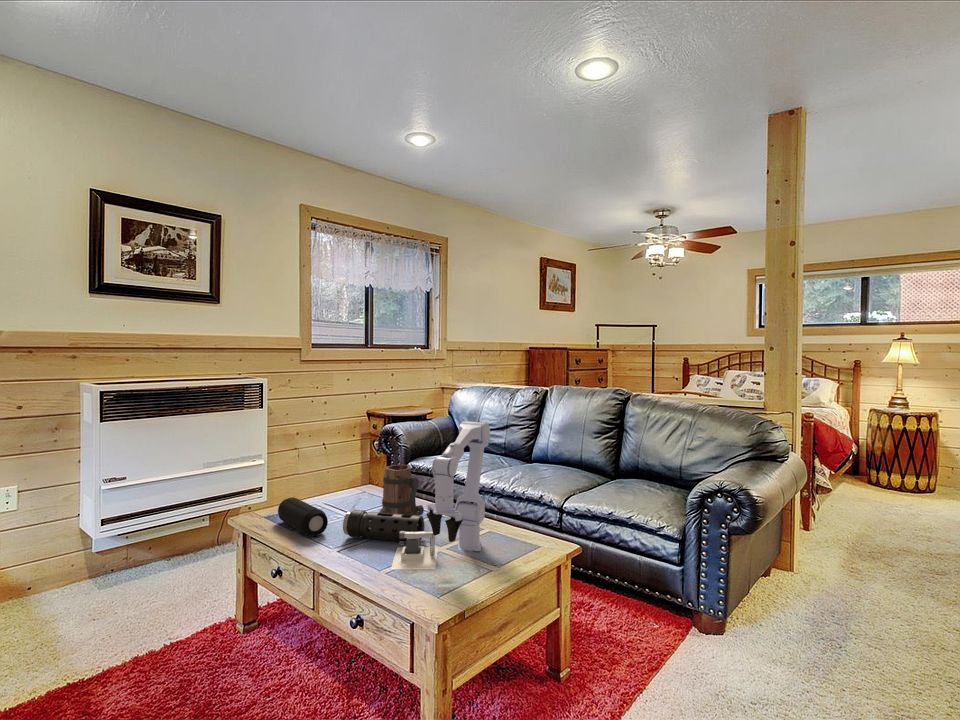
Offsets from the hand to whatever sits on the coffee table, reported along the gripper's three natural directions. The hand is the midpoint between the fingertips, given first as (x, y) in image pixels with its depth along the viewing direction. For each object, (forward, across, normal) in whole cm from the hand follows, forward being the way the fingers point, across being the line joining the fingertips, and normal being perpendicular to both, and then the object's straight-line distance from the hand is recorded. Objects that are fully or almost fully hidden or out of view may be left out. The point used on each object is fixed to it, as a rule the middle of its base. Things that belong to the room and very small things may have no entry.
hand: (444, 537), depth 165 cm
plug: (+10, -15, -3) cm, 18 cm away
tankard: (+11, -51, +21) cm, 56 cm away
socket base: (+10, -12, -2) cm, 16 cm away
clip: (+9, -13, -1) cm, 16 cm away
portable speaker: (+11, -66, -16) cm, 68 cm away
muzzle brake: (+11, -34, 0) cm, 35 cm away
